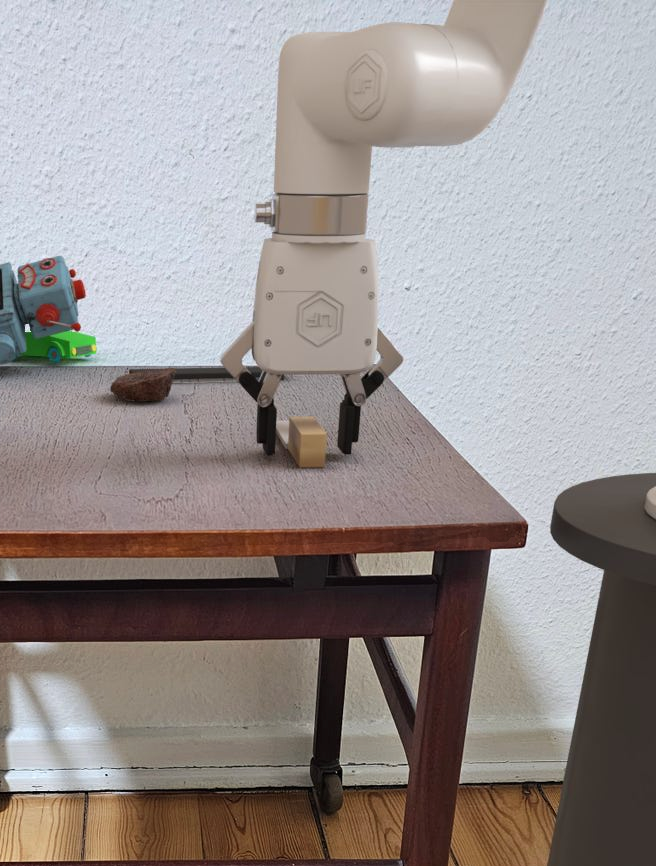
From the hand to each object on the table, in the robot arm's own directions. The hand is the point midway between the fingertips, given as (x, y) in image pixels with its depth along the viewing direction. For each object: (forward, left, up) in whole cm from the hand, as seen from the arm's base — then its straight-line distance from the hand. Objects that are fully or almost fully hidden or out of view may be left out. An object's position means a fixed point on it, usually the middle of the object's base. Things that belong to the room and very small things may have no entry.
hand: (306, 449), depth 104 cm
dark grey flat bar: (+5, -37, 0) cm, 37 cm away
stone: (+13, -27, -1) cm, 30 cm away
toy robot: (+49, -47, +1) cm, 67 cm away
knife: (0, -5, -1) cm, 5 cm away
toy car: (+24, -54, -1) cm, 59 cm away
